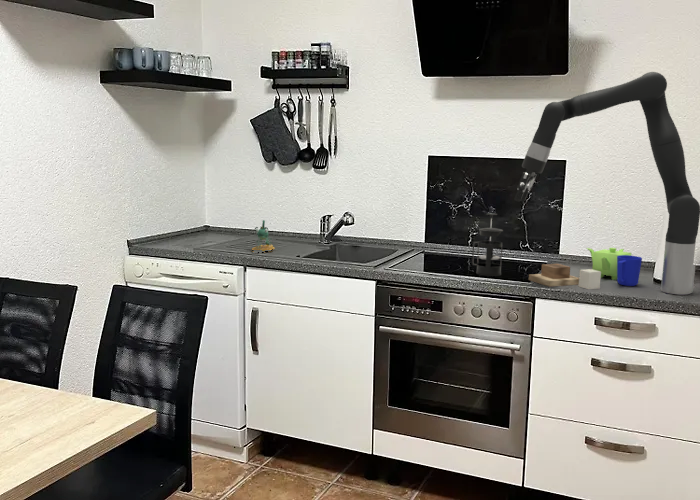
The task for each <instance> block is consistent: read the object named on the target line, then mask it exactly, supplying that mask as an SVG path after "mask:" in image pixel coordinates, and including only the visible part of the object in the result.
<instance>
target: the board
mask: <svg viewBox="0 0 700 500" xmlns="http://www.w3.org/2000/svg"><path fill="white" fill-rule="evenodd" d="M528 281H530V282H533V283H536V284H540V285H542V286H546V287H548V288H549V287H563V286H565V287H566V286H579V276H578V277H577V276H574V275H571V274H570V278H562V279H551V278H548V277H545V276H542V275H541V273H535V274H533V273H532V274H528Z"/></svg>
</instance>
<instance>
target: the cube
mask: <svg viewBox="0 0 700 500" xmlns="http://www.w3.org/2000/svg"><path fill="white" fill-rule="evenodd" d="M578 272H579V274H578V275H579V276H578V278H579V285H578V287H579V288H583V289H586V290H598V289H599V290H600V288H601V279H602V278H601V272H600V271H597V270H593V269H592V268H587V269H579V271H578Z"/></svg>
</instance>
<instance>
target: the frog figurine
mask: <svg viewBox="0 0 700 500" xmlns="http://www.w3.org/2000/svg"><path fill="white" fill-rule="evenodd" d="M265 225H266V224H265V219H263V220H262V224H261V226H260V229H259V227H258V226H256V227H254V230H255V232H256V234H257V235H256V236H257V240H256V243H258V244H257V246H254V247H252V248H251V251H252V250H262V251H265V250H272V249H273V250H275V249H276V248H275V247H274V245H273V244H272V242H271V241H270V240H272V238H270V236H269V228H268V227H267V226H266V227H265ZM262 241H264V243H265V244H264V245H263V244H262V243H263V242H262Z"/></svg>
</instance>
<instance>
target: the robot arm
mask: <svg viewBox="0 0 700 500" xmlns="http://www.w3.org/2000/svg"><path fill="white" fill-rule="evenodd" d="M667 86H668V82H667V78H666V77H665V76H664V75H663V74H661V73H659V72H658V71H657V72H656V71H649V72H646V73H644V74H642V75H641V76H639V77H637V78H635V79H632V80H630V81H627V82H624V83H621V84H618V85H615V86H612V87H607V88H603V89H599V90H598V89H597V90H593V91H590V92H586V93H582V94H578V95H576V96H573V97H572V98H569V99H565V100H560V101H552V102H549V103H548V104H546V105H545V107H544V109H543V112H542V114H541V117H540V120H539V125H538V127H537V129H536V130H535V133H534V136H533V137H532V140H531V143H530V144H529V147H528V149H527V152H526V154H525V157H524V158H523V161H522V164H521V167H522V168H523V169H526V171H525V172H524V171H523V172H522V174H521V176H520V179H519V181H518V183H517V184H518V185H517V186H516V189H517V191H516V193H515V196H514V199H513V200H514V201H516V202H517V203H520V202H521V201H523V202H525V201H526V200H527V199H526V198H527V196H528V194H529V192H530V191H531V190H532V189H533V185H534V183H535V180H536V178H537V175H538V174H542V173H543V171H544V168H545V167H546V164H547V161H548V159H549V156H550V153H551V150H552V147H553V145H554V142H555V140H556V136H557V132H558V130H559V128H560V125H561V123H562V122H564V121H567V120H570V119H573V118H576V117H582V116H587V115H590V114H594V113H597V112H601V111H603V110H606V109H610V108H613V107H615V106H618V105H622V104H627V103H630V102H638V101H639V103H640V106H641V108H642V110H643V113H644V116H645V122H646V127H647V133H648V135H647V136H648V139H649V140H648V141H649V144H650V148H651V152H652V156H653V159H654V162H655V165H656V168H657V171H658V173H659V177H660V179H661V181H662V183H663V188H664V193H665V200H666V207H667V212H668V222H667V223H668V224H667V231H666V233H665V241H664V253H663V254H664V255H663V264H662V274H661V285H660V291H661V292H663V293H666V294H671V295H672V294H673V295H691V294H692V293H693V292H694V282H695V274H696V265H695V264H694V262H695V261H694V260H695V250H696V243H697V242H696V241H697V237H698V232H699V225H700V203H699V201H698V200H697V198H696V197H694V196H693V193H692V191H691V188H690V186H689V182H688V179H687V173H686V172H687V171H686V157H685V152H684V148H683V143H682V140H681V137H680V135H679V131H678V129H677V127H676V126H677V125H676V124H675V122H674V120H673V118H672V115H671V114H670V112H669V109H668V103H667V98H666V90H667ZM536 173H537V174H536Z"/></svg>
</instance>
